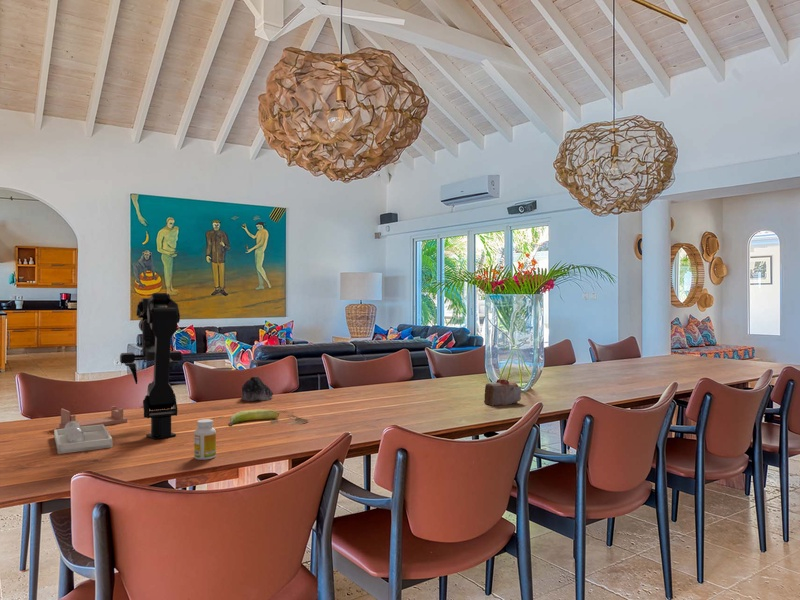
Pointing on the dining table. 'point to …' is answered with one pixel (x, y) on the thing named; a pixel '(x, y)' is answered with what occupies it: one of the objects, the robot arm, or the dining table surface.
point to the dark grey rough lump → (255, 390)
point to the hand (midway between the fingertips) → (151, 382)
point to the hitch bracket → (114, 419)
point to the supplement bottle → (205, 440)
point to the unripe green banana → (261, 416)
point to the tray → (93, 440)
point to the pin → (74, 432)
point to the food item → (502, 393)
